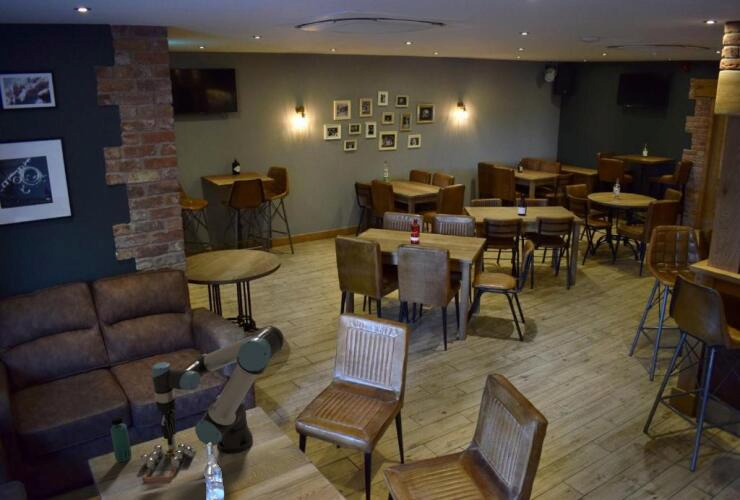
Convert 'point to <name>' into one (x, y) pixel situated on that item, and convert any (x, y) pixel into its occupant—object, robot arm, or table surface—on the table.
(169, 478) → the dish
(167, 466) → the mat
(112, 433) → the beverage bottle
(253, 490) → the table surface
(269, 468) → the table surface
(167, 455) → the nut
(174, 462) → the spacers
